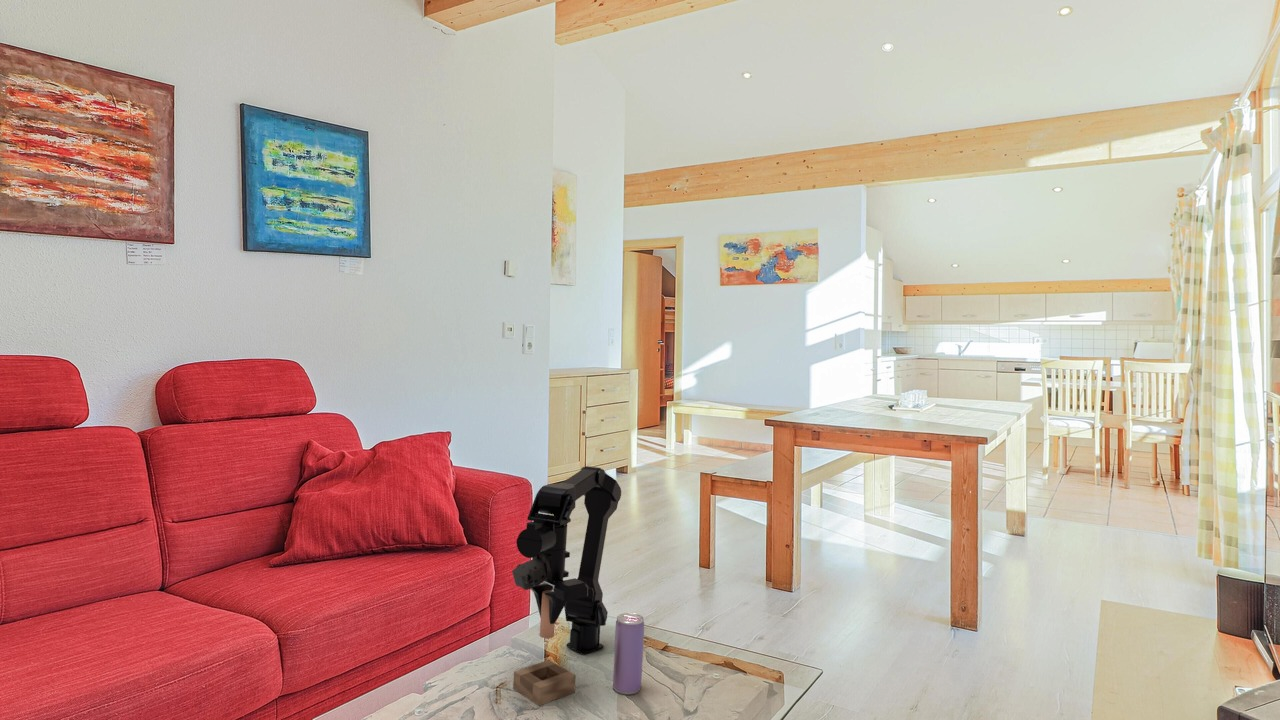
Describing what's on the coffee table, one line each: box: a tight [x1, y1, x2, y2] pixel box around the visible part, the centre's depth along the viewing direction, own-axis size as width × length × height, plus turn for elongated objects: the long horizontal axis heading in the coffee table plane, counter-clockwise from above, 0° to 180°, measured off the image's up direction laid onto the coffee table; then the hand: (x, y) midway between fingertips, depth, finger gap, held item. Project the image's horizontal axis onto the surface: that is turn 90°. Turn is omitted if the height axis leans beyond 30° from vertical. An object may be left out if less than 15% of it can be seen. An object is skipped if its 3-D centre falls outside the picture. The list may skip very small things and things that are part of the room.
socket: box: [512, 659, 576, 706], centre depth 149 cm, size 9×9×4 cm
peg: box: [539, 590, 556, 639], centre depth 152 cm, size 3×3×9 cm
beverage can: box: [612, 612, 645, 696], centre depth 151 cm, size 6×6×15 cm
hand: (547, 621), depth 152 cm, fingers closed on peg, 3 cm apart
